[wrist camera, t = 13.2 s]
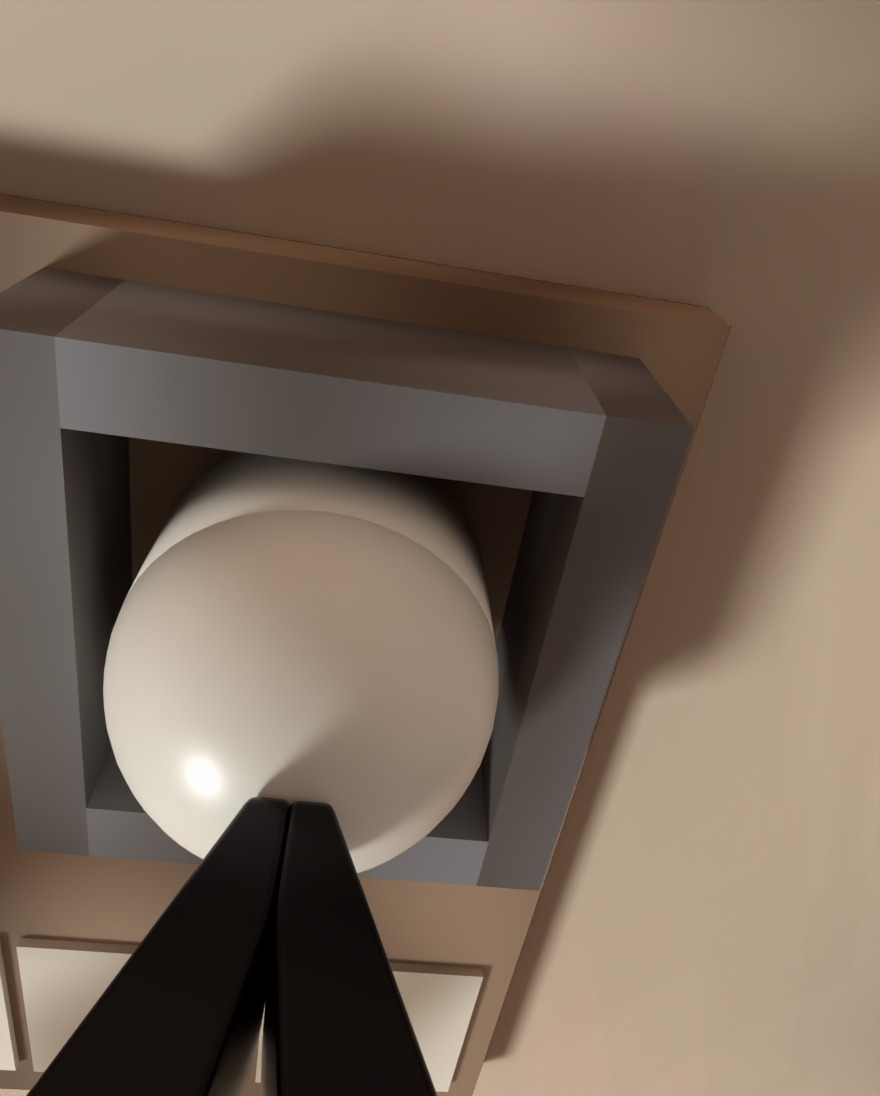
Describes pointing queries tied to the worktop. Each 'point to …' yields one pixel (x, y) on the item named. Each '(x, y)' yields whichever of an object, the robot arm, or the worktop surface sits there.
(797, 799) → the worktop surface
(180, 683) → the dome
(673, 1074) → the worktop surface
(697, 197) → the worktop surface
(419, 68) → the worktop surface
